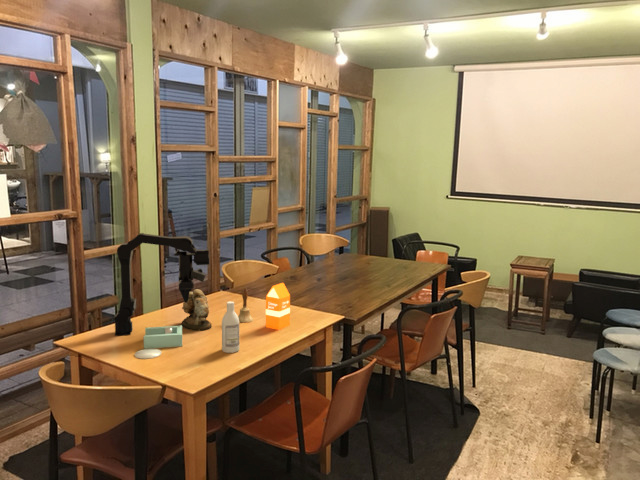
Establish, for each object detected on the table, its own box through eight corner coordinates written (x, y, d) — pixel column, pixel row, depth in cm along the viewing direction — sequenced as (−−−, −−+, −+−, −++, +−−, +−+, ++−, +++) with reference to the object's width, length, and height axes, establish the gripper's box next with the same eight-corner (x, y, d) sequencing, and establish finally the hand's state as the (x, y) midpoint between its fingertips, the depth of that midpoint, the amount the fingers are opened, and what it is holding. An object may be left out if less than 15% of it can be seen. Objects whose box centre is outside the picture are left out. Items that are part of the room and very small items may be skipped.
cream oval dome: (133, 359, 200) (133, 358, 200) (135, 350, 210) (135, 349, 210) (160, 357, 203) (160, 356, 203) (161, 348, 213) (161, 347, 212)
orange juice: (290, 325, 246) (290, 283, 243) (279, 330, 239) (279, 287, 236) (276, 322, 250) (276, 281, 247) (265, 326, 243) (265, 284, 240)
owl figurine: (173, 324, 244) (172, 288, 242) (194, 318, 253) (194, 284, 251) (196, 332, 233) (196, 295, 230) (218, 327, 241) (217, 290, 239)
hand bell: (256, 318, 255) (256, 286, 253) (249, 323, 247) (249, 290, 245) (240, 316, 257) (240, 285, 255) (233, 321, 250) (232, 288, 247)
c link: (182, 336, 227) (182, 325, 227) (182, 346, 216) (182, 334, 215) (145, 338, 224) (145, 327, 223) (143, 348, 212) (143, 336, 211)
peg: (165, 342, 220) (164, 329, 219) (165, 339, 223) (164, 327, 222) (172, 341, 221) (172, 329, 220) (172, 339, 224) (172, 326, 223)
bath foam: (242, 350, 213) (242, 302, 210) (229, 354, 208) (228, 305, 205) (232, 345, 217) (232, 299, 214) (218, 350, 212) (218, 302, 209)
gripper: (205, 269, 224) (205, 304, 227) (203, 260, 242) (203, 293, 244) (178, 269, 221) (178, 305, 224) (178, 261, 239) (178, 294, 241)
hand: (186, 299), depth 233 cm, fingers open, 9 cm apart
